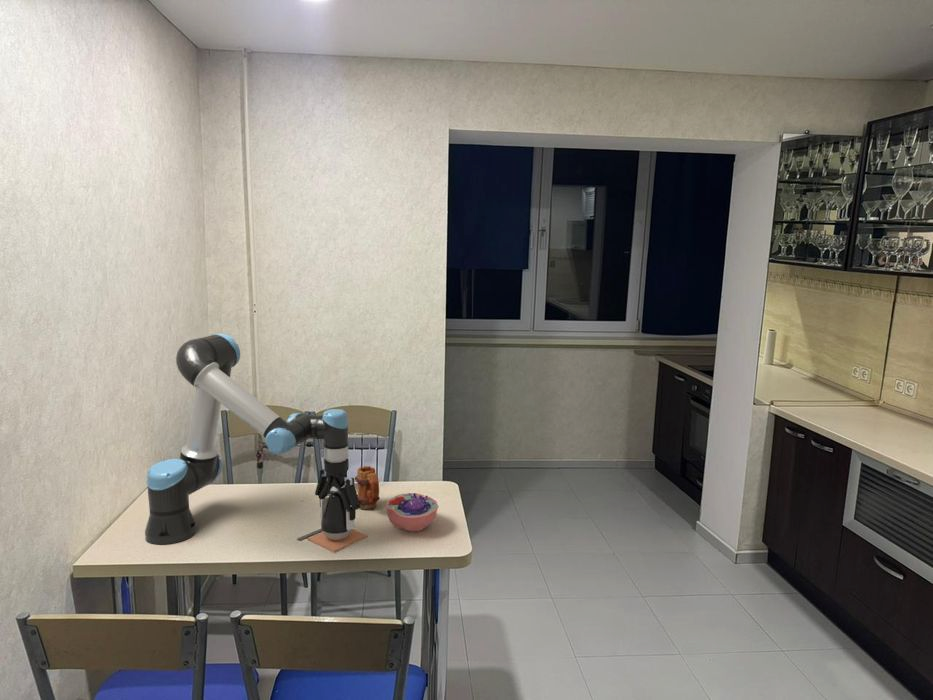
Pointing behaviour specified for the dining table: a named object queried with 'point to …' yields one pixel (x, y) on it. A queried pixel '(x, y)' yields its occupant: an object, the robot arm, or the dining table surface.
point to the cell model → (411, 511)
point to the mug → (367, 487)
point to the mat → (337, 544)
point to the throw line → (309, 534)
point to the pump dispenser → (335, 517)
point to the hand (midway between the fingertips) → (337, 523)
